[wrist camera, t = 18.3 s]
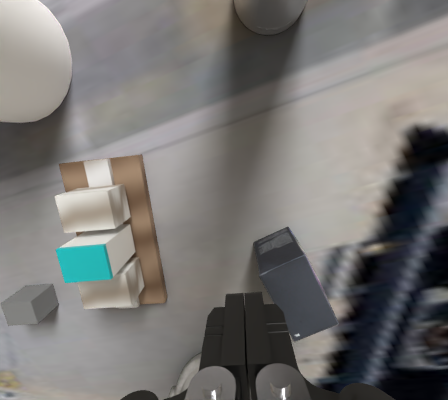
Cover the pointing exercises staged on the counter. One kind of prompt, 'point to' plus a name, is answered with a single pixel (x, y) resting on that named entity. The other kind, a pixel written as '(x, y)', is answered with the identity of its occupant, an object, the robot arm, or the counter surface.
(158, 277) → the board
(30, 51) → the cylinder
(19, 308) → the grey block
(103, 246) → the block
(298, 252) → the small box
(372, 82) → the counter surface
